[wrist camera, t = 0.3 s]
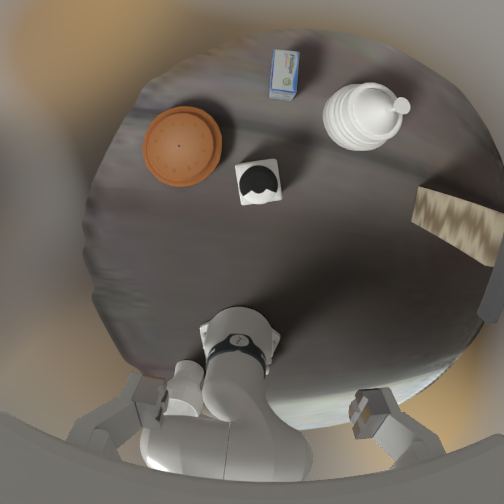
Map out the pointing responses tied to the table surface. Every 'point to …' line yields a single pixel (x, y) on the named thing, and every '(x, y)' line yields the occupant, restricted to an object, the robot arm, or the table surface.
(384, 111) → the honey pot
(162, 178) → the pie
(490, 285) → the dark gray bar
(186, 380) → the cup
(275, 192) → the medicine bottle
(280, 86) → the medicine box
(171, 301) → the table surface
